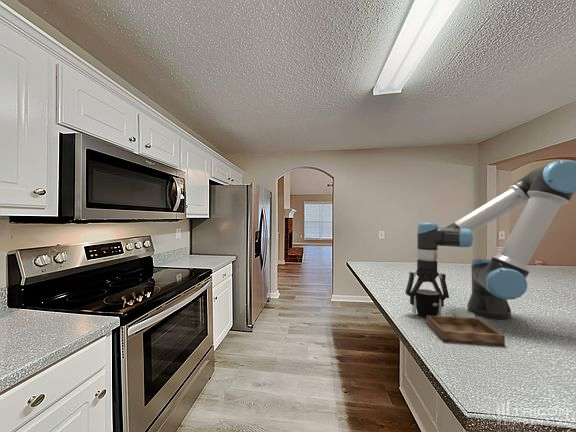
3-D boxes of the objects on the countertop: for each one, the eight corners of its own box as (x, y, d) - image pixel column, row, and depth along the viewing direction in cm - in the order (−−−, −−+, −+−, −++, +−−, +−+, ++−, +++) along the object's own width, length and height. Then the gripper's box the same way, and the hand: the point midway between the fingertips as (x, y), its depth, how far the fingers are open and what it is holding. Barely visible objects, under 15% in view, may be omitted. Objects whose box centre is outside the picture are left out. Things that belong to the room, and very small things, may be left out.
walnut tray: (478, 327, 97) (478, 318, 97) (504, 346, 82) (504, 335, 83) (426, 323, 100) (426, 315, 100) (442, 341, 85) (442, 331, 85)
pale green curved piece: (469, 320, 105) (469, 310, 105) (479, 327, 98) (479, 316, 98) (450, 319, 106) (450, 309, 106) (458, 326, 99) (458, 315, 99)
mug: (434, 322, 102) (434, 296, 102) (411, 315, 109) (411, 291, 109) (445, 315, 110) (445, 291, 110) (423, 309, 117) (423, 286, 117)
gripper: (451, 259, 112) (450, 312, 112) (397, 257, 116) (396, 308, 115) (459, 262, 105) (459, 318, 104) (402, 259, 108) (401, 314, 108)
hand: (426, 313), depth 110 cm, fingers closed on mug, 9 cm apart
